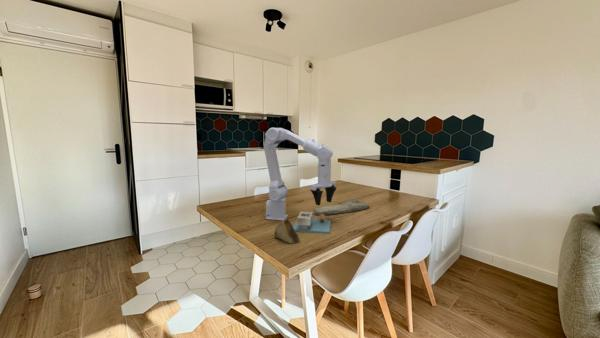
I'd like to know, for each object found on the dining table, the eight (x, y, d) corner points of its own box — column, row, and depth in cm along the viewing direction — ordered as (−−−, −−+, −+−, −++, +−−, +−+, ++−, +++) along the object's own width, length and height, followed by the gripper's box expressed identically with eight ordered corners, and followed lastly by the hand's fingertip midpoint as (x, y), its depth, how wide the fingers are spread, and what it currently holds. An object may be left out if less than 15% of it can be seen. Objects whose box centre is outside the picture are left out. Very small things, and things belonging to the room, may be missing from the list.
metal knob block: (300, 231, 109) (300, 219, 108) (302, 224, 117) (303, 214, 116) (307, 231, 108) (307, 220, 108) (309, 224, 116) (310, 214, 115)
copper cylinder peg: (319, 222, 117) (319, 215, 117) (320, 220, 119) (320, 213, 119) (324, 222, 117) (324, 215, 116) (324, 221, 119) (324, 214, 118)
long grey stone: (309, 214, 135) (319, 221, 126) (309, 205, 134) (319, 212, 125) (361, 203, 150) (373, 209, 141) (361, 195, 149) (373, 200, 140)
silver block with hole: (297, 224, 108) (297, 217, 108) (300, 217, 117) (300, 211, 116) (310, 225, 107) (310, 218, 107) (312, 218, 116) (312, 212, 115)
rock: (266, 231, 103) (273, 237, 93) (278, 213, 104) (285, 217, 95) (287, 243, 106) (295, 251, 97) (298, 226, 108) (307, 231, 98)
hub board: (292, 231, 109) (292, 229, 109) (297, 219, 122) (297, 218, 122) (329, 233, 106) (329, 231, 106) (330, 222, 120) (331, 220, 120)
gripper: (320, 177, 106) (319, 208, 108) (341, 173, 116) (340, 202, 118) (308, 175, 111) (307, 204, 113) (329, 171, 121) (328, 199, 123)
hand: (323, 203), depth 116 cm, fingers open, 7 cm apart
